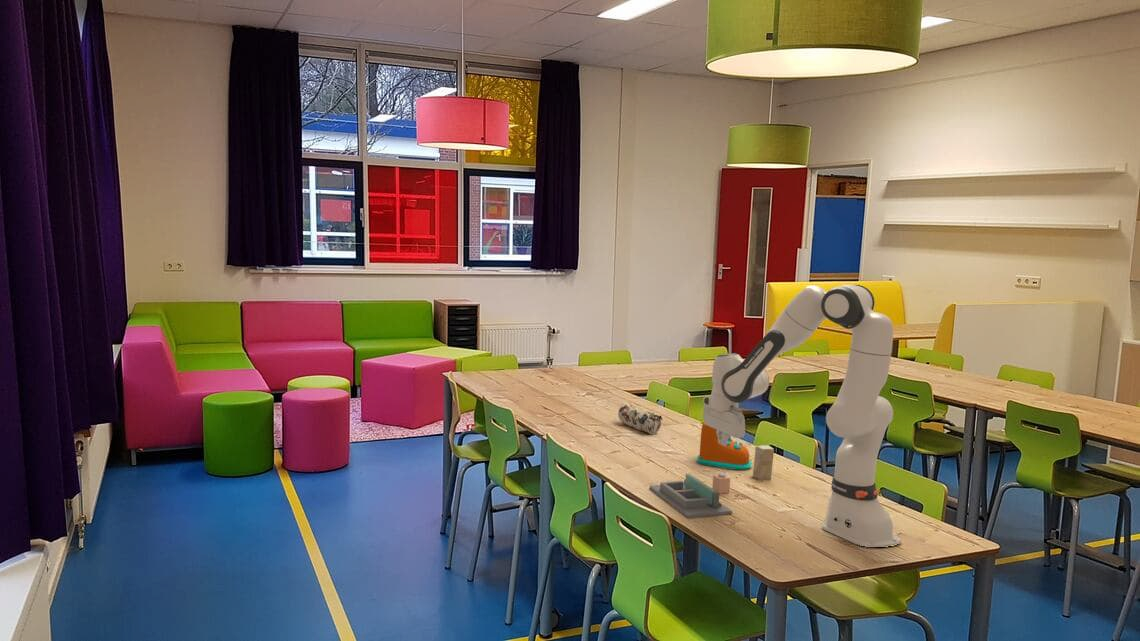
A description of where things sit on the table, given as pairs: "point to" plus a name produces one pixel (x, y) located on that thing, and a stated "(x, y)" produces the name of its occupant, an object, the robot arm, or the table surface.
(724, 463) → the toy shoe
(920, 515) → the table surface
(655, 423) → the pencil case
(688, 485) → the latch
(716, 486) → the peach button block
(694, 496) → the housing
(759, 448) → the box
